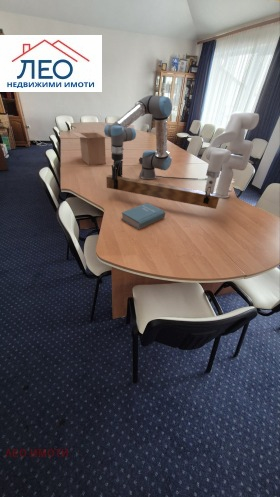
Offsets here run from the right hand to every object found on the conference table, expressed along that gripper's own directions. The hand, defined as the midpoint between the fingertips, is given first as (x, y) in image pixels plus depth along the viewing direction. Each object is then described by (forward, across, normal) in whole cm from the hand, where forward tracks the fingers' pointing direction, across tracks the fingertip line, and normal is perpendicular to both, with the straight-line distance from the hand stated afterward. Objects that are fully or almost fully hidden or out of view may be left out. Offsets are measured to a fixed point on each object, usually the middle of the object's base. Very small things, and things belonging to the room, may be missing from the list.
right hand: (205, 201), depth 142 cm
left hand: (+2, 0, +62) cm, 62 cm away
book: (+11, -21, +35) cm, 42 cm away
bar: (+2, 0, +31) cm, 31 cm away
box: (+12, +79, +123) cm, 147 cm away
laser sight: (+12, +99, +67) cm, 120 cm away
